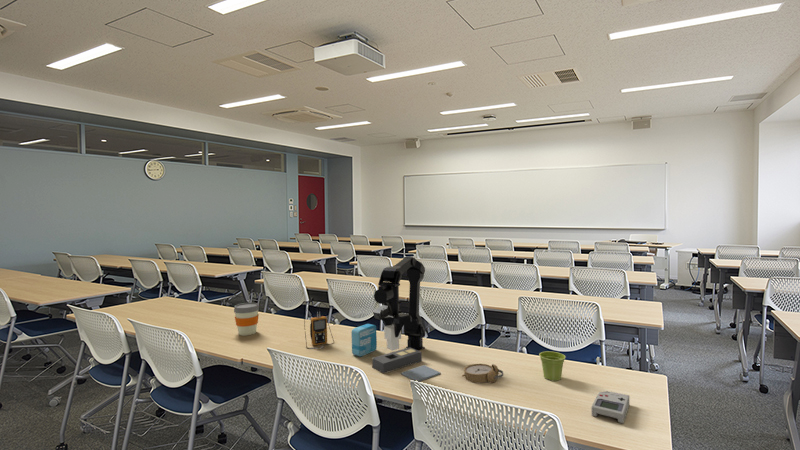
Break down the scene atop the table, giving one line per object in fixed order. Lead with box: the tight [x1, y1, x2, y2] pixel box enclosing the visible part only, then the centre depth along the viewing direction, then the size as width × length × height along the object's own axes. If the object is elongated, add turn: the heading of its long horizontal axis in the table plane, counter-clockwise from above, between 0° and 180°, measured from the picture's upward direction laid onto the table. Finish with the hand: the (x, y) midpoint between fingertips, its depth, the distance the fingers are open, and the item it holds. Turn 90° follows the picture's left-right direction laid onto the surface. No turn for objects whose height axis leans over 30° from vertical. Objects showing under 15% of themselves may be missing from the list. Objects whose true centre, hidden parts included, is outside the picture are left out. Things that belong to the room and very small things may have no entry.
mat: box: [400, 364, 441, 382], centre depth 165 cm, size 12×10×1 cm
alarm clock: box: [461, 363, 504, 384], centre depth 160 cm, size 11×5×15 cm
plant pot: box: [538, 350, 566, 382], centre depth 158 cm, size 9×9×9 cm
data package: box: [350, 323, 378, 357], centre depth 190 cm, size 12×4×12 cm, turn 142°
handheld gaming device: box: [591, 390, 630, 424], centre depth 133 cm, size 9×15×4 cm, turn 145°
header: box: [371, 347, 423, 374], centre depth 175 cm, size 20×8×4 cm, turn 127°
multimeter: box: [303, 302, 335, 350], centre depth 200 cm, size 15×10×20 cm
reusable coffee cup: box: [233, 302, 260, 336], centre depth 224 cm, size 13×13×15 cm
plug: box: [383, 324, 402, 351], centre depth 172 cm, size 5×5×9 cm
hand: (392, 335), depth 172 cm, fingers closed on plug, 5 cm apart
